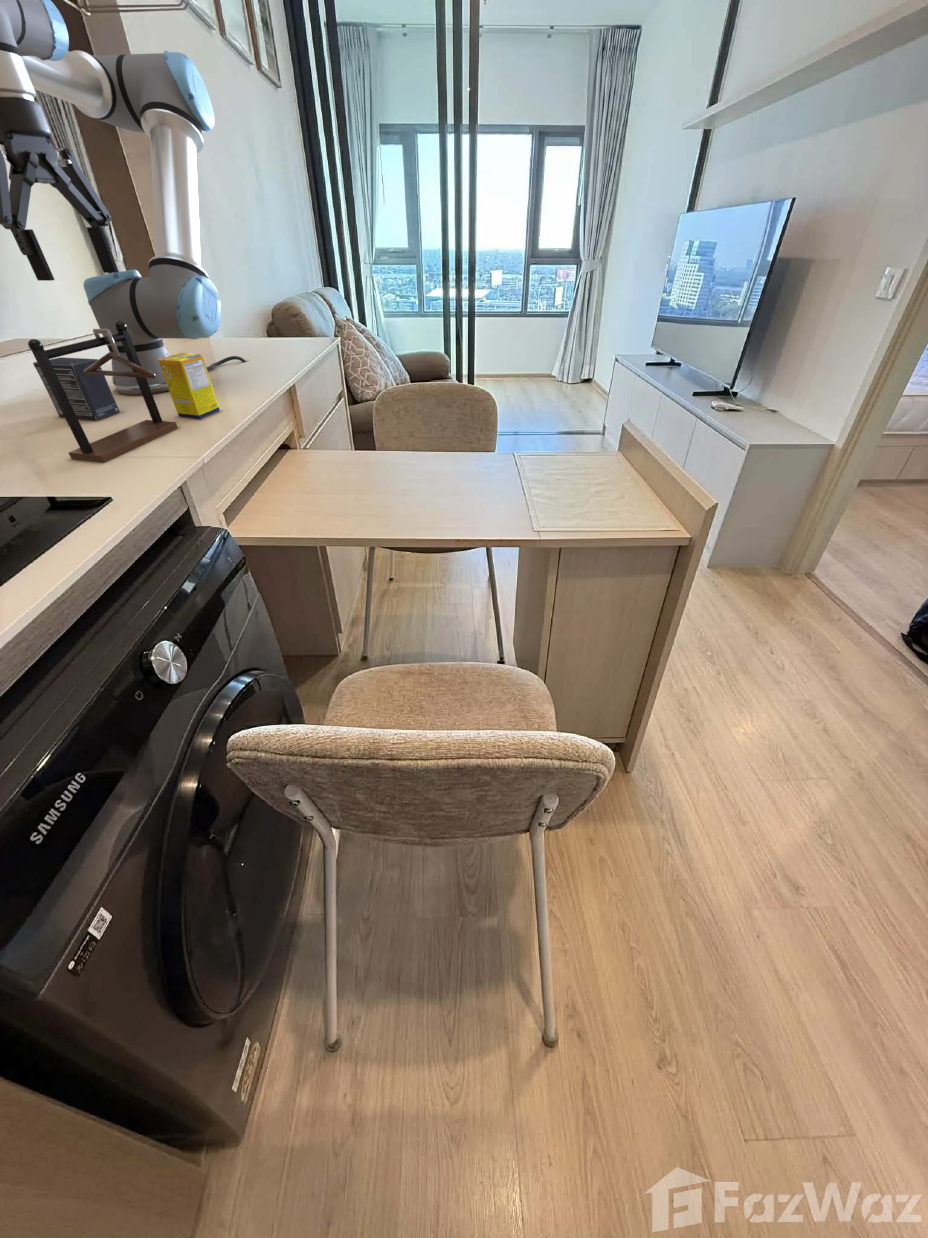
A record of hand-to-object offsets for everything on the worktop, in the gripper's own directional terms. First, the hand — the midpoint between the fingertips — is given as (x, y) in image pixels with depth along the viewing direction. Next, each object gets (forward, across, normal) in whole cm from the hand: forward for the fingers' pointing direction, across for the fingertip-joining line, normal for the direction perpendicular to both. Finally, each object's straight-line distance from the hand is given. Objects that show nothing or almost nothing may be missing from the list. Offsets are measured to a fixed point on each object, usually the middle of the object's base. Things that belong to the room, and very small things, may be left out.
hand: (80, 276), depth 87 cm
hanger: (+14, +6, +7) cm, 17 cm away
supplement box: (+25, -7, +8) cm, 27 cm away
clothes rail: (+24, +10, +7) cm, 27 cm away
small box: (+25, -2, -15) cm, 29 cm away
